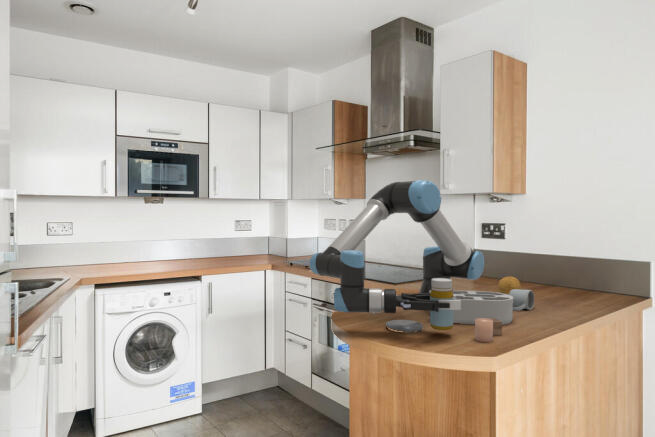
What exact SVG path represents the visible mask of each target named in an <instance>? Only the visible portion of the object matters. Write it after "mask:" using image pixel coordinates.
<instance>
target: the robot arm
mask: <svg viewBox="0 0 655 437" xmlns="http://www.w3.org/2000/svg"><path fill="white" fill-rule="evenodd" d="M441 204H442V197H441V191H440V189H439V187H438V185H437V184H435V183H434V182H433V181H430V180H423V179H417V180H410V181H395V182H391V183H389V184H386V185H385V186H383V187H382V188H381V189H380V190H377V192H376V193H375V194H373V196H371V197H370V198H369V199H368V201H367V202H366V206H365V208H363V210H362V211H361V212H360V213H359V214H358V215H357V216H356V217H355V218H354V219H353V220H352V221H351V222H350V223H349V224H348V225H347V227H346V228H345V229H344V230H343V231H342V232H341V233H340V234H339V235H338V236H337V237H336V238H335V239H334V240H333V241H332V243H331V244H330V245H329V246H327V248H326V249H325V250H324V251H323V252H316V253H313V254H312V255H311V257H310V259H309V268H310V271H311V272H312V273H313V274H314V275H319V276H322V277H329V278H334V279H339V280H340V285H339V286H340V287H336V288H334V292H333V306H334V310H335V311H336V312H339V313H340V312H341V313H342V312H343V313H367V314H368V313H372V315H376V313H377V314H379V313H380V314H381V313H383V312H384V313H385V314H395V313H397V308H402V309H403V311H425V312H426V311H427V312H428V311H429V312H430V311H436V312H439V309H446V310H461V300H456V295H453V300H438V301H433V300H430V293H429V290H432V286H431V280H432V279H433V278H447V279H451V278H456V279H462V280H463V279H464V280H468V281H470V280H473V281H476V280H478V279H479V278H480V277H481V276H482V275H483V271H484V268H485V256H484V254H483V252H481V251H478V250H475V251H474V250H473V249H472V247H471V246H470V245H469V244H468V243H467V242H463V241H462V240H461V238H460V237H459V236H458V234H457V233H456V231H455V230H454V228H453V227H452V225H451V224H450V222H449V221H448V219H447V218H446V217H445V215H444V214H443V212H442V211H441ZM394 214H408V215H409V216H410V219H412V220H413V221H414V222H415V223H418V224H421V226H422V227H423V228H424V229H425V231H426V232H427V233H428V236H430V237H431V239H432V241H434V243H435V245H437V246H427V247H425V248H423V253H422V254H423V255H422V283H421V286H420V288H419V292H418V293H411V292H409V293H406V292H405V293H404V292H401V293H400V295H397V291H396V289H395V288H384V289H382V288H379V287H378V288H375V287H374V288H372V287H371V288H366V287H365V257H364V255H365V254H364V252H363V251H361V250H356V249H357V248H358V247H359V246H360V245H361V244H362V242H364V240H366V238H367V237H368V236H369V235H370V233H371V232H372V231H374V229H375V228H376V227H377V226H378V225H379V224H380V222H381V221H384V220H386V219H388V217H390V216H391V215H394ZM452 291H454V289H453V288H452Z"/></svg>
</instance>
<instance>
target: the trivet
mask: <svg viewBox="0 0 655 437" xmlns="http://www.w3.org/2000/svg"><path fill="white" fill-rule="evenodd" d="M386 326H387V327H388V328H390V329H393V330H397V331H403V332H415V331H420V330H422V329H423V330H424V324H422V323H421V322H419V321H416V320H411V319H393V320H388V321H386V322H385V327H386ZM423 330H422V331H423ZM420 332H421V331H420Z"/></svg>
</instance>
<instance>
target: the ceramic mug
mask: <svg viewBox="0 0 655 437" xmlns="http://www.w3.org/2000/svg"><path fill="white" fill-rule="evenodd" d="M508 295H511V296H512V297H513V311H514V312H518V311H522V310H526V311H527V310H528V311H531V310H533V308H534V306H535V293H534V291H533V290H532V289H521V290H520V289H513V290H511V291H510V292H509V294H508Z"/></svg>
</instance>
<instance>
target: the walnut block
mask: <svg viewBox="0 0 655 437" xmlns="http://www.w3.org/2000/svg"><path fill="white" fill-rule="evenodd" d="M488 319H492V320H493V337H494V336H502V335H503V328H502V327H503V325H502V321H500V320H498V319H496V318H488Z"/></svg>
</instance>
